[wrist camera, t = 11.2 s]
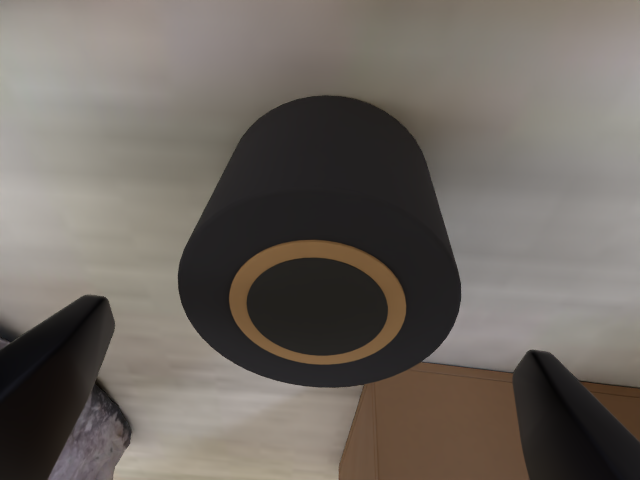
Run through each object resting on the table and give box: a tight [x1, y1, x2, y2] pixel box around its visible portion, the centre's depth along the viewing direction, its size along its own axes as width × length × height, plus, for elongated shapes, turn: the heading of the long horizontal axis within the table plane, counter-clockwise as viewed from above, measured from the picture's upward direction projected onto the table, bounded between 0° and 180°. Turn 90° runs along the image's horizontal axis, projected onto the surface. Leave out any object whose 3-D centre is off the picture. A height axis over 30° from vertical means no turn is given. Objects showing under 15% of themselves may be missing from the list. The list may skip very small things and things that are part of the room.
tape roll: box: [178, 96, 461, 388], centre depth 11 cm, size 6×6×5 cm
